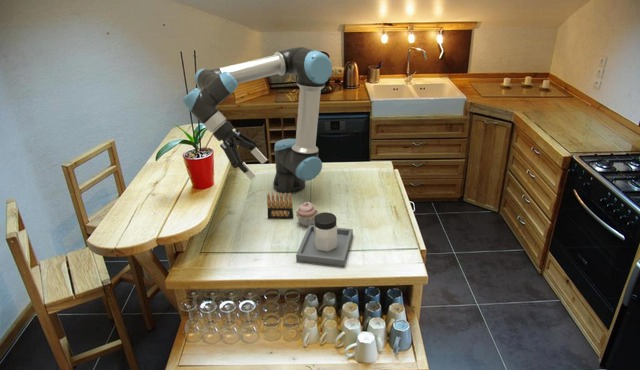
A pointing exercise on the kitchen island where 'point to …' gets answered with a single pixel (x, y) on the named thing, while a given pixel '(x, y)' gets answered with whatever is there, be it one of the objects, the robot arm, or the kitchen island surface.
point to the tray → (331, 258)
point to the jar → (325, 231)
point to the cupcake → (306, 214)
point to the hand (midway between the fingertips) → (259, 169)
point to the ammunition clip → (279, 207)
